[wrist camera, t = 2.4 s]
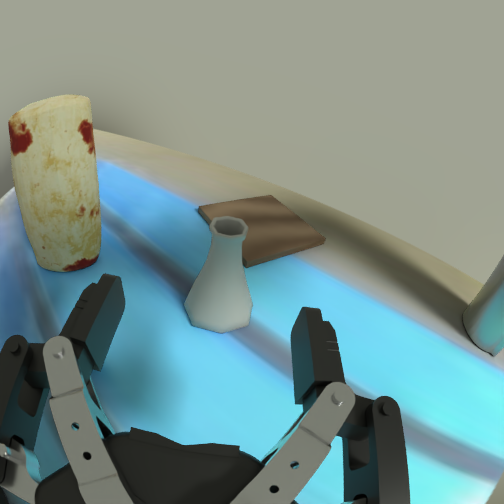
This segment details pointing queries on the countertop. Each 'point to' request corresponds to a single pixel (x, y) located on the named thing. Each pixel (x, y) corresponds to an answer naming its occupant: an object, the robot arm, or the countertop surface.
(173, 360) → the countertop surface
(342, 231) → the countertop surface
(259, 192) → the countertop surface
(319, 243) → the walnut board
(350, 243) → the countertop surface
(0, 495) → the travel mug
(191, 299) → the flask
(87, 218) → the food model
